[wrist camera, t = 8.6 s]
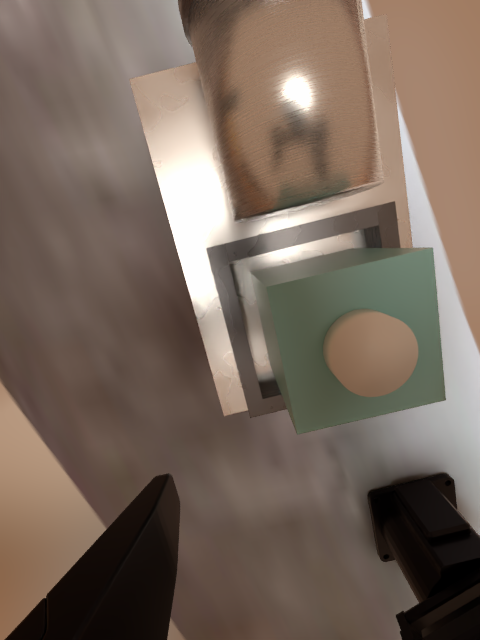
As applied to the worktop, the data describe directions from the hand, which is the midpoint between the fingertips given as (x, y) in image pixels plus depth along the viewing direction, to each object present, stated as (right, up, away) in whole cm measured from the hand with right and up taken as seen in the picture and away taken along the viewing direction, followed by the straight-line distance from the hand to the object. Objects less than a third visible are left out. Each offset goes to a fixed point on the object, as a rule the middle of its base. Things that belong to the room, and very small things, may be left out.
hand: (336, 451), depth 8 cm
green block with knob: (+1, +4, +7) cm, 8 cm away
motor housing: (0, +8, +11) cm, 14 cm away
